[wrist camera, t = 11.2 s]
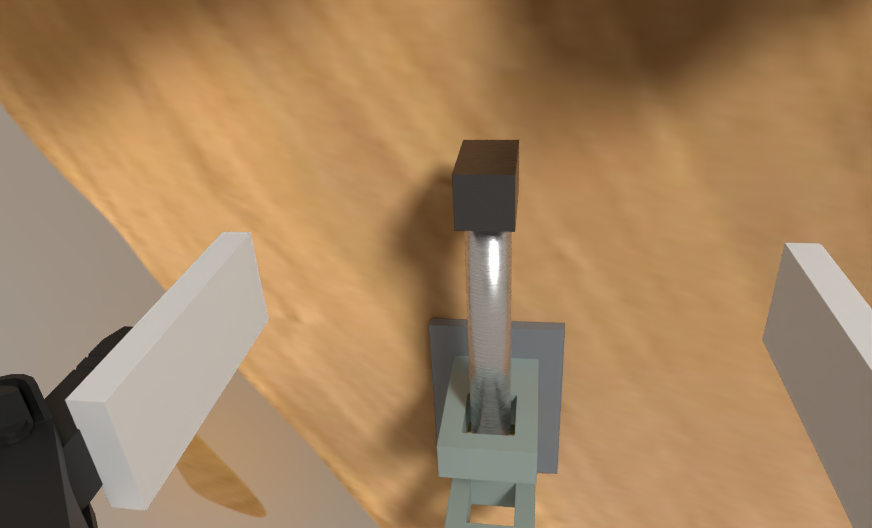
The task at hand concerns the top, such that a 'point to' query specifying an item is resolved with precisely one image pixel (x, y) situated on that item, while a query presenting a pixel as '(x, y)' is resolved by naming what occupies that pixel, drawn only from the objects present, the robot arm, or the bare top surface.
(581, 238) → the top surface
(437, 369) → the bearing stand
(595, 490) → the top surface
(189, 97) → the top surface
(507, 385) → the shaft
